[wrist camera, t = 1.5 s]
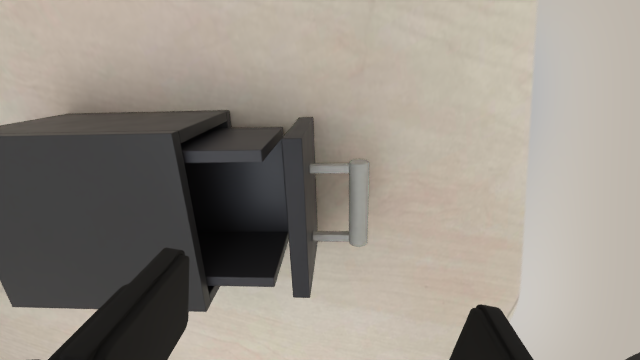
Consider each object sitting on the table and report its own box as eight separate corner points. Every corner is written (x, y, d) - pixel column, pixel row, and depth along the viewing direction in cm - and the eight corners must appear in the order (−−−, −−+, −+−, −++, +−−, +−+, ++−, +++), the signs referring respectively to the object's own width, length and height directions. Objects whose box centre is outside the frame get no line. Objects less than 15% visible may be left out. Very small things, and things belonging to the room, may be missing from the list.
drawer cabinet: (229, 110, 26) (171, 133, 17) (246, 239, 31) (206, 311, 22) (67, 113, 27) (-67, 137, 18) (105, 238, 32) (12, 307, 23)
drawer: (365, 116, 25) (375, 137, 18) (362, 240, 29) (370, 299, 21) (153, 120, 26) (80, 141, 19) (178, 238, 30) (126, 294, 23)
